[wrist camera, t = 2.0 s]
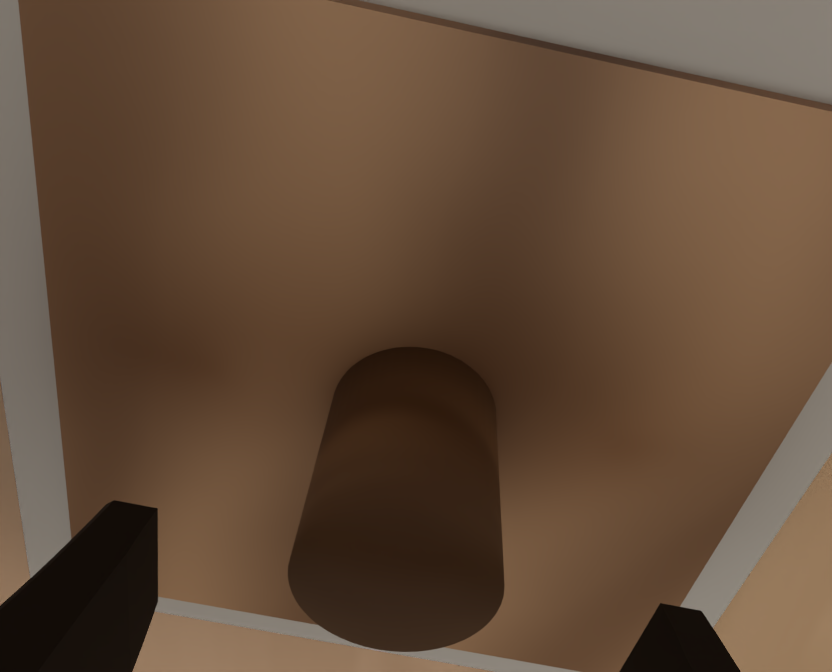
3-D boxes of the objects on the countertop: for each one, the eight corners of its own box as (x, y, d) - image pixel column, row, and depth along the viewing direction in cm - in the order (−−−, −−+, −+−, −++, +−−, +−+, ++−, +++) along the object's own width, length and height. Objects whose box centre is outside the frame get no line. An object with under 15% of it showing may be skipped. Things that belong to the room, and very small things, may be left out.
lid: (87, 562, 18) (-20, 750, 14) (33, -72, 10) (-229, -47, 6) (629, 659, 18) (671, 865, 15) (945, 130, 11) (1205, 262, 7)
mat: (40, 577, 19) (31, 589, 19) (-72, -221, 10) (-91, -225, 9) (659, 687, 20) (662, 700, 19) (1085, 44, 11) (1104, 50, 10)
